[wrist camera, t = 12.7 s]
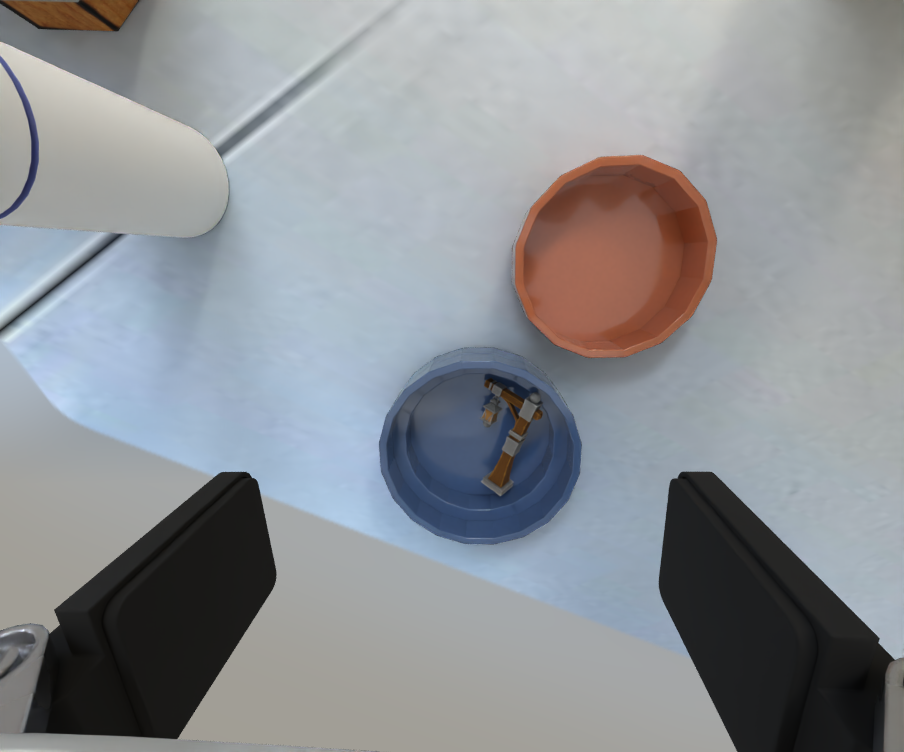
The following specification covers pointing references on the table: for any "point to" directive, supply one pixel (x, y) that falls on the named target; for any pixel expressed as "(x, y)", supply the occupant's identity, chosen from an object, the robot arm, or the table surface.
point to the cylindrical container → (99, 158)
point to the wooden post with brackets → (529, 411)
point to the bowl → (477, 448)
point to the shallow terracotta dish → (614, 256)
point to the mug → (73, 13)
